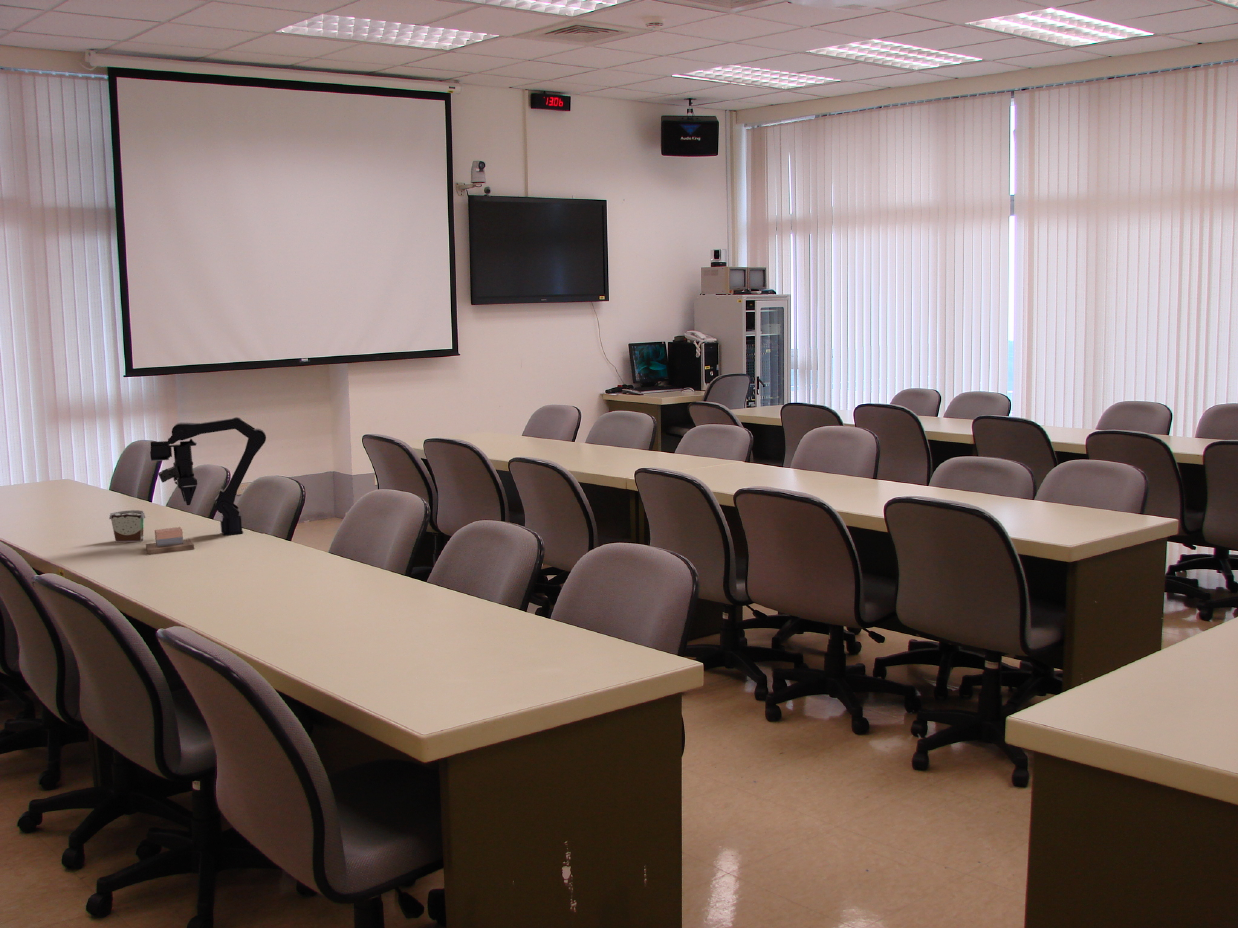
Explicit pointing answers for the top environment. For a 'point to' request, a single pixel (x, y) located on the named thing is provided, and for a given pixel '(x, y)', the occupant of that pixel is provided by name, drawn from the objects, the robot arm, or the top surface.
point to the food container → (128, 525)
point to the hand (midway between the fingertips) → (187, 503)
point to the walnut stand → (169, 547)
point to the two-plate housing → (168, 537)
